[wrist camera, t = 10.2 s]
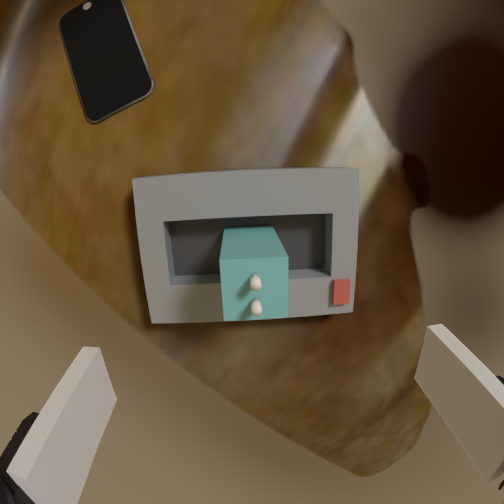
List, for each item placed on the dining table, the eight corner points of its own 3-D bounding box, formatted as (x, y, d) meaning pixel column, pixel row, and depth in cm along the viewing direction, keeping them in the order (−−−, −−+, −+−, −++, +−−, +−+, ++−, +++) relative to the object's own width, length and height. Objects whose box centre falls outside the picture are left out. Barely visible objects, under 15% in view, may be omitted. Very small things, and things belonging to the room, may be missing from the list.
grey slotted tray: (141, 176, 29) (130, 179, 26) (348, 167, 30) (361, 169, 27) (157, 310, 33) (150, 326, 30) (344, 300, 34) (354, 314, 31)
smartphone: (117, -17, 22) (157, 91, 27) (119, -14, 23) (159, 92, 27) (56, 18, 23) (88, 127, 27) (59, 20, 24) (91, 127, 28)
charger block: (224, 227, 31) (218, 266, 20) (272, 225, 31) (291, 263, 20) (227, 272, 32) (223, 331, 21) (272, 270, 32) (291, 327, 21)
